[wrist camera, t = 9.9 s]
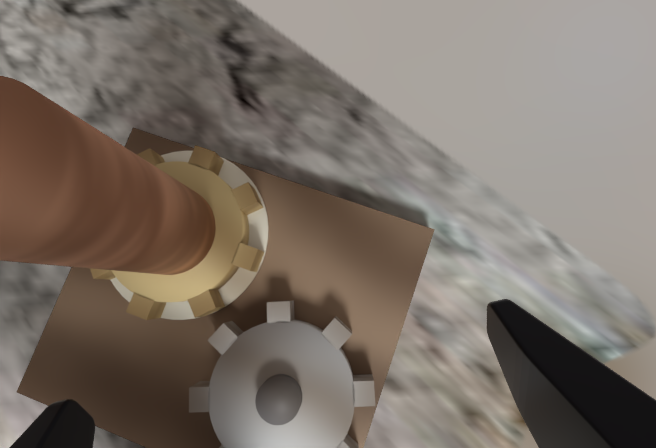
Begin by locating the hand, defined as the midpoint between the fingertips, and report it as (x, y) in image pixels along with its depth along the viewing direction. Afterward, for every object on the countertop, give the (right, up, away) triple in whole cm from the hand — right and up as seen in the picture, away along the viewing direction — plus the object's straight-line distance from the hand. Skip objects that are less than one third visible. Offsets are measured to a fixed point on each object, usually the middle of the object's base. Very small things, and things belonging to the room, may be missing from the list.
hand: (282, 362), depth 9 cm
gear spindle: (-7, +2, +13) cm, 15 cm away
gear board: (-4, -2, +14) cm, 15 cm away
